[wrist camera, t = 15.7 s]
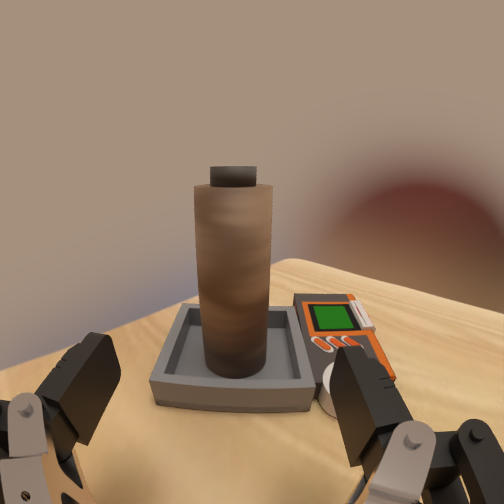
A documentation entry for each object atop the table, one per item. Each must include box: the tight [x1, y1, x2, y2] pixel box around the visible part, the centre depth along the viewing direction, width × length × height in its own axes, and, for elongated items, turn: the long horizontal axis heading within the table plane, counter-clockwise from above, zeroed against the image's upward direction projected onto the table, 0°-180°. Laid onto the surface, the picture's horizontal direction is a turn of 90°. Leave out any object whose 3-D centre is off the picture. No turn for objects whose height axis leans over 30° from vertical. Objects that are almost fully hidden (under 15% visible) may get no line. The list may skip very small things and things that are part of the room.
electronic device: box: [293, 293, 396, 418], centre depth 21 cm, size 7×3×15 cm
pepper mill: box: [194, 166, 273, 379], centre depth 18 cm, size 5×5×14 cm
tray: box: [149, 303, 316, 413], centre depth 20 cm, size 10×10×2 cm
